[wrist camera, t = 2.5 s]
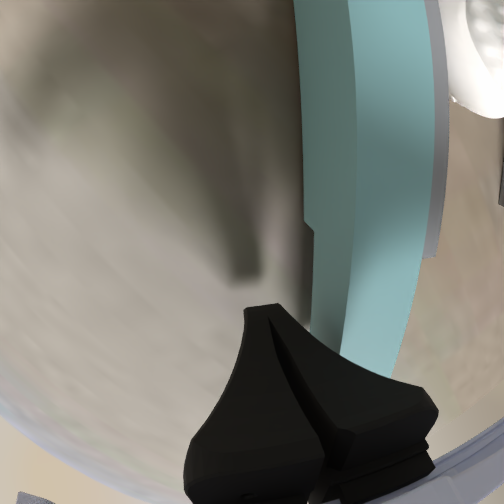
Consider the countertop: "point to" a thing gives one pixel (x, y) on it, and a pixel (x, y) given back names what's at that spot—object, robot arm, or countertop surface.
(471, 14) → the white ribbed dome
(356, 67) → the movable jaw
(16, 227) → the countertop surface
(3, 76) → the countertop surface
